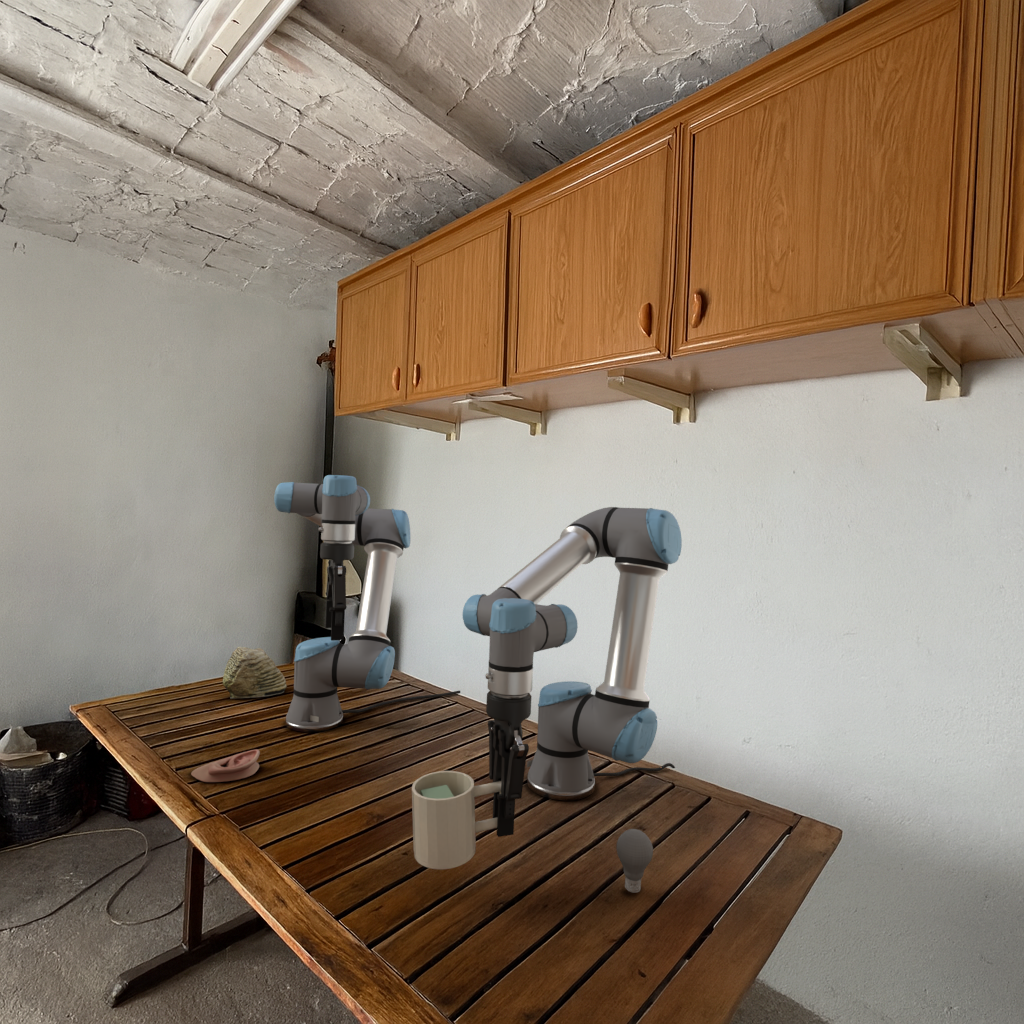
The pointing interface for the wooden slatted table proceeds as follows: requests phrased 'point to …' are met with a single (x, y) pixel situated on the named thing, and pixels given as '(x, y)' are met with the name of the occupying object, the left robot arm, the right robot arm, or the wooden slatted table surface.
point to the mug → (448, 819)
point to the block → (437, 792)
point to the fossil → (252, 674)
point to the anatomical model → (229, 768)
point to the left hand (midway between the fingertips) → (334, 633)
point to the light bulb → (634, 857)
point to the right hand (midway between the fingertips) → (502, 830)
